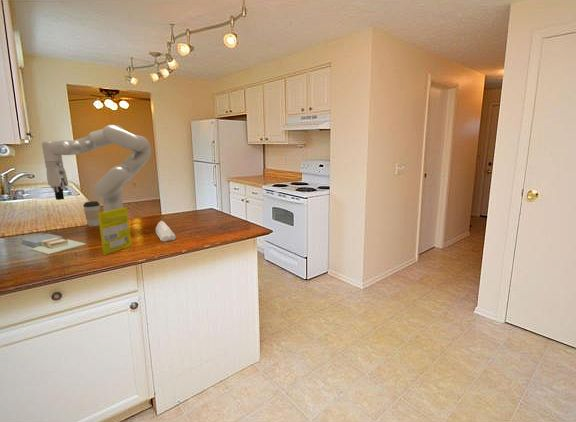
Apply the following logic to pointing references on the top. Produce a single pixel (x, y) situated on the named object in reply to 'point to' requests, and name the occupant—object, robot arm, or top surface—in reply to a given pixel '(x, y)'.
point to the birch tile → (54, 243)
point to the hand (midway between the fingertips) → (60, 199)
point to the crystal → (164, 232)
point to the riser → (38, 239)
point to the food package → (114, 230)
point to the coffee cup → (92, 212)
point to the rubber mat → (49, 251)
